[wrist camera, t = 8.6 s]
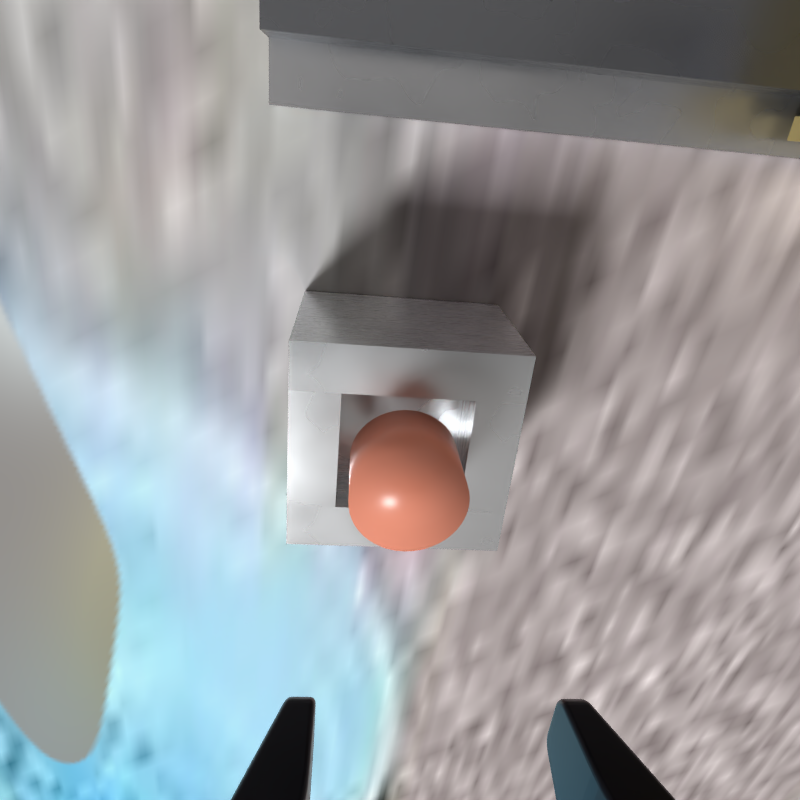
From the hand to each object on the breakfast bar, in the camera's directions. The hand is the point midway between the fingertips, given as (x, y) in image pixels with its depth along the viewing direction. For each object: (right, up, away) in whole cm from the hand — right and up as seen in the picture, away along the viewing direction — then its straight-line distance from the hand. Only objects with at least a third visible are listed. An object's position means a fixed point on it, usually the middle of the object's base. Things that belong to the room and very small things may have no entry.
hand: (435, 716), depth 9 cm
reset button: (0, +3, +7) cm, 7 cm away
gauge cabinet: (-1, +5, +11) cm, 12 cm away
